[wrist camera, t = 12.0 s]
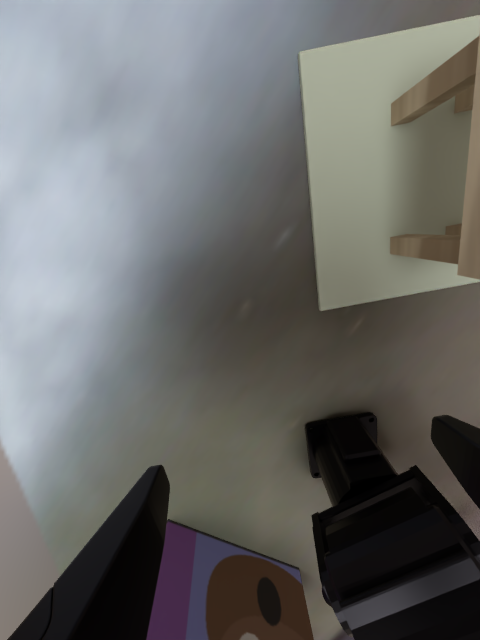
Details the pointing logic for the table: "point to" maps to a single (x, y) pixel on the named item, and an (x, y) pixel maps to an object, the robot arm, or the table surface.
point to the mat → (381, 162)
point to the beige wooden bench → (476, 228)
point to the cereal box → (224, 592)
